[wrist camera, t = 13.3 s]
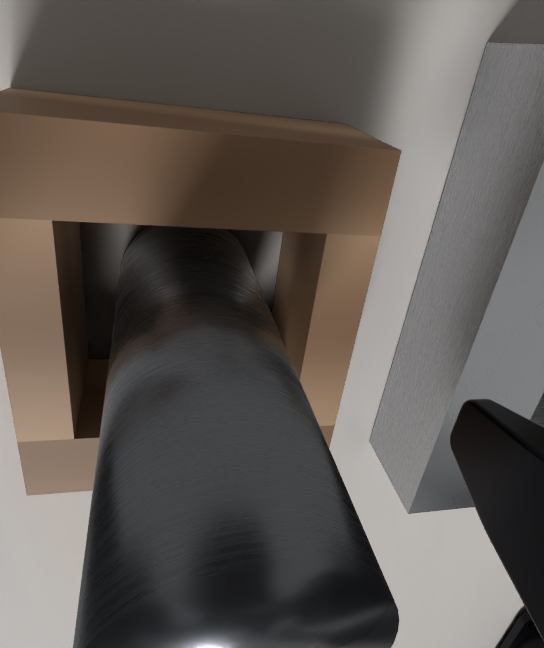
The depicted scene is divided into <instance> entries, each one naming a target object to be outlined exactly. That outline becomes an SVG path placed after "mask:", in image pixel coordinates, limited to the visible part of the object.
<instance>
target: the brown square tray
mask: <svg viewBox="0 0 544 648" xmlns="http://www.w3.org/2000/svg"><path fill="white" fill-rule="evenodd" d="M400 154H401V150H399V149H397V148H395V147H392V146H390V145H388V144H386V143H384V142H382V141H380V140H378V139H376V138H373V137H371V136H369V135H367V134H365V133H363V132H361V131H359V130H357V129H354V128H352V127H350V126H348V125H346V124H340V123H331V122H322V121H313V120H303V119H294V118H285V117H275V116H266V115H257V114H247V113H238V112H229V111H219V110H210V109H201V108H191V107H182V106H173V105H164V104H154V103H145V102H136V101H126V100H117V99H108V98H98V97H89V96H80V95H70V94H61V93H52V92H42V91H33V90H24V89H15V88H8V89H5V90H2V91H0V348H1V353H2V359H3V364H4V370H5V376H6V381H7V387H8V392H9V398H10V404H11V409H12V415H13V420H14V426H15V432H16V437H17V443H18V449H19V454H20V460H21V465H22V471H23V477H24V482H25V488H26V493H27V495H40V494H53V493H66V492H79V491H91V490H93V485H94V477H95V469H96V461H97V453H98V445H99V438H100V430H101V422H102V414H103V406H104V398H105V390H106V382H107V374H108V366H109V359H89V352H88V338H87V325H86V311H85V297H84V284H83V270H82V257H81V243H80V230H79V222H93V223H114V224H135V225H156V226H176V227H197V228H218V229H238V230H259V231H280V232H283V237H282V244H281V252H280V259H279V266H278V273H277V280H276V287H275V294H274V302H273V309H272V317H273V319H274V321H275V324H276V326H277V328H278V331H279V333H280V335H281V338H282V340H283V342H284V345H285V347H286V349H287V352H288V354H289V356H290V359H291V361H292V363H293V366H294V368H295V370H296V373H297V375H298V377H299V380H300V382H301V384H302V387H303V389H304V391H305V394H306V396H307V398H308V401H309V403H310V405H311V408H312V410H313V412H314V415H315V417H316V419H317V422H318V424H319V426H320V429H321V431H322V433H323V436H324V438H325V440H326V443H327V445H328V447H329V446H330V442H331V438H332V434H333V430H334V426H335V422H336V418H337V414H338V409H339V405H340V401H341V397H342V393H343V389H344V385H345V381H346V376H347V372H348V368H349V364H350V360H351V356H352V352H353V348H354V344H355V339H356V335H357V331H358V327H359V323H360V319H361V315H362V311H363V307H364V302H365V298H366V294H367V290H368V286H369V282H370V278H371V274H372V269H373V265H374V261H375V257H376V253H377V249H378V245H379V241H380V237H381V232H382V228H383V224H384V220H385V216H386V212H387V208H388V204H389V200H390V195H391V191H392V187H393V183H394V179H395V175H396V171H397V167H398V162H399V158H400Z"/></svg>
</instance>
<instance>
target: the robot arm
mask: <svg viewBox="0 0 544 648" xmlns="http://www.w3.org/2000/svg"><path fill="white" fill-rule="evenodd" d="M450 446H451V450H452V452H453V455H454V457H455V460H456V462H457V464H458V467H459V469H460V472H461V474H462V476H463V479H464V481H465V484H466V486H467V489H468V491H469V493H470V496H471V498H472V501H473V503H474V505H475V508H476V510H477V513H478V515H479V517H480V520H481V522H482V524H483V526H484V529H485V531H486V533H487V535H488V537H489V539H490V541H491V543H492V545H493V546H494V548H495V550H496V552H497V554H498V556H499V558H500V560H501V562H502V563H503V565H504V567H505V569H506V571H507V573H508V575H509V577H510V579H511V580H512V582H513V584H514V586H515V588H516V590H517V592H518V594H519V596H520V598H521V599H522V601H523V603H524V605H525V607H526V609H527V612H525V613H523V614H522V615H521V616H520V617H519V618H518V620H517V621H516V623H515V624H514V626H513V627H512V629H511V631H510V632H509V634H508V635H507V637H506V638H505V640H504V641H503V643H502V644H501V646H500V647H499V648H544V427H542V426H540V425H538V424H536V423H534V422H532V421H531V420H529V419H527V418H525V417H523V416H521V415H519V414H517V413H515V412H513V411H512V410H510V409H508V408H506V407H504V406H502V405H500V404H498V403H496V402H494V401H492V400H490V399H470V400H467V401H465V402H464V403H463V404H462V406H461V409H460V411H459V414H458V416H457V419H456V421H455V424H454V426H453V429H452V431H451V434H450Z"/></svg>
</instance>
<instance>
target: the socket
mask: <svg viewBox="0 0 544 648" xmlns="http://www.w3.org/2000/svg"><path fill="white" fill-rule="evenodd" d="M543 393H544V44H520V43H488V42H487V45H486V48H485V51H484V55H483V58H482V62H481V65H480V68H479V72H478V75H477V79H476V82H475V85H474V89H473V92H472V95H471V99H470V102H469V106H468V109H467V112H466V116H465V119H464V123H463V126H462V129H461V133H460V136H459V140H458V143H457V146H456V150H455V153H454V157H453V160H452V163H451V167H450V170H449V173H448V177H447V180H446V184H445V187H444V190H443V194H442V197H441V201H440V204H439V207H438V211H437V214H436V218H435V221H434V224H433V228H432V231H431V234H430V238H429V241H428V245H427V248H426V251H425V255H424V258H423V262H422V265H421V268H420V272H419V275H418V279H417V282H416V285H415V289H414V292H413V295H412V299H411V302H410V306H409V309H408V312H407V316H406V319H405V323H404V326H403V329H402V333H401V336H400V340H399V343H398V346H397V350H396V353H395V356H394V360H393V363H392V367H391V370H390V373H389V377H388V380H387V384H386V387H385V390H384V394H383V397H382V401H381V404H380V407H379V411H378V414H377V417H376V421H375V424H374V428H373V431H372V434H371V438H370V441H369V442H370V444H371V445H372V447H373V449H374V451H375V453H376V455H377V457H378V459H379V460H380V462H381V464H382V466H383V468H384V470H385V472H386V474H387V475H388V477H389V479H390V481H391V483H392V485H393V487H394V489H395V490H396V492H397V494H398V496H399V498H400V500H401V502H402V503H403V505H404V507H405V509H406V511H407V513H408V514H411V513H420V512H430V511H439V510H449V509H459V508H468V507H475V505H474V503H473V501H472V498H471V496H470V493H469V491H468V489H467V486H466V484H465V481H464V479H463V476H462V474H461V472H460V469H459V467H458V464H457V462H456V460H455V457H454V455H453V452H452V450H451V446H450V434H451V431H452V429H453V426H454V424H455V421H456V419H457V416H458V414H459V411H460V409H461V406H462V404H463V403H464V402H465V401H467V400H470V399H490V400H492V401H494V402H496V403H498V404H500V405H502V406H504V407H506V408H508V409H510V410H512V411H513V412H515V413H517V414H519V415H521V416H523V417H525V418H527V419H529V420H531V421H532V422H534V423H536V424H538V425H540V426H542V427H544V396H542V395H543Z"/></svg>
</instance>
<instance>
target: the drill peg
mask: <svg viewBox="0 0 544 648" xmlns="http://www.w3.org/2000/svg"><path fill="white" fill-rule="evenodd" d="M398 625H399V615H398V609H397V607H396V604H395V602H394V599H393V597H392V594H391V592H390V590H389V587H388V585H387V583H386V580H385V578H384V576H383V573H382V571H381V569H380V566H379V564H378V562H377V559H376V557H375V555H374V552H373V550H372V548H371V545H370V543H369V541H368V538H367V536H366V534H365V531H364V529H363V527H362V524H361V522H360V520H359V517H358V515H357V513H356V510H355V508H354V506H353V503H352V501H351V499H350V496H349V494H348V492H347V489H346V487H345V485H344V482H343V480H342V478H341V475H340V473H339V471H338V468H337V466H336V464H335V461H334V459H333V457H332V454H331V452H330V450H329V447H328V445H327V443H326V440H325V438H324V436H323V433H322V431H321V429H320V426H319V424H318V422H317V419H316V417H315V415H314V412H313V410H312V408H311V405H310V403H309V401H308V398H307V396H306V394H305V391H304V389H303V387H302V384H301V382H300V380H299V377H298V375H297V373H296V370H295V368H294V366H293V363H292V361H291V359H290V356H289V354H288V352H287V349H286V347H285V345H284V342H283V340H282V338H281V335H280V333H279V331H278V328H277V326H276V324H275V321H274V319H273V317H272V314H271V312H270V310H269V307H268V305H267V303H266V300H265V298H264V296H263V293H262V291H261V289H260V286H259V284H258V282H257V279H256V277H255V275H254V272H253V270H252V268H251V265H250V263H249V261H248V258H247V256H246V254H245V251H244V249H243V247H242V246H241V244H240V242H239V241H238V240H237V239H236V237H235V236H234V235H233V234H232V233H231V232H230V231H228V230H227V229H218V228H197V227H176V226H156V225H149V226H148V227H146V228H145V229H144V230H142V231H141V232H140V233H139V234H138V235H137V236H136V237H135V238H134V239H133V240H132V242H131V243H130V244H129V246H128V248H127V250H126V252H125V254H124V257H123V260H122V265H121V271H120V279H119V287H118V295H117V303H116V310H115V318H114V326H113V334H112V342H111V350H110V358H109V366H108V374H107V382H106V390H105V398H104V406H103V414H102V422H101V430H100V438H99V445H98V453H97V461H96V469H95V477H94V485H93V493H92V501H91V509H90V517H89V525H88V533H87V541H86V549H85V557H84V565H83V573H82V580H81V588H80V596H79V604H78V612H77V620H76V628H75V636H74V644H73V648H391V647H392V645H393V643H394V641H395V638H396V635H397V632H398Z"/></svg>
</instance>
